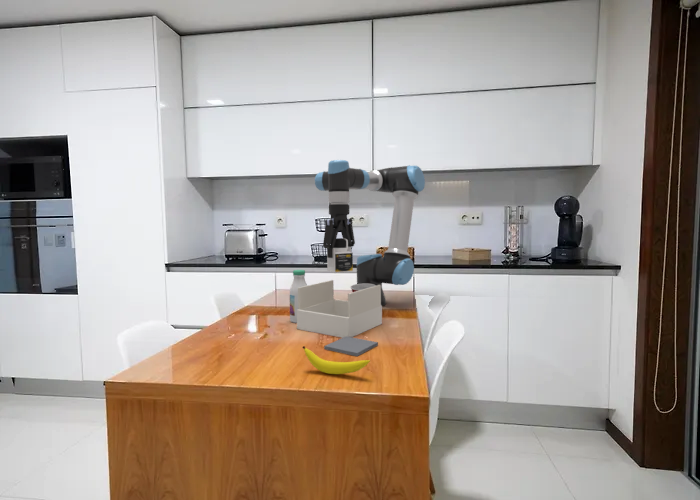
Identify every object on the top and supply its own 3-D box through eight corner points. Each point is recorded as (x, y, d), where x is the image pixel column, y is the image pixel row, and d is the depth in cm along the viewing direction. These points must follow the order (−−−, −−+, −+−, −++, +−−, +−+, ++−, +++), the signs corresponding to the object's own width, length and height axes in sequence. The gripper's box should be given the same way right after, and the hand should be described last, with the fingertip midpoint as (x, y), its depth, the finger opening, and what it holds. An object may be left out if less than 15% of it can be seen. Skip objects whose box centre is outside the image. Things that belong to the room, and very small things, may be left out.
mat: (346, 339, 133) (346, 336, 133) (377, 345, 126) (377, 342, 126) (324, 349, 123) (324, 346, 123) (357, 356, 117) (357, 353, 116)
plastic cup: (346, 315, 165) (346, 286, 164) (356, 310, 175) (355, 282, 174) (371, 318, 161) (371, 288, 160) (379, 312, 171) (379, 284, 170)
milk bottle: (311, 318, 161) (310, 269, 159) (307, 323, 153) (306, 271, 152) (292, 318, 162) (291, 269, 160) (287, 323, 154) (286, 271, 153)
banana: (368, 382, 98) (368, 356, 98) (300, 371, 106) (299, 347, 105) (372, 377, 101) (372, 353, 101) (305, 367, 108) (305, 344, 108)
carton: (333, 316, 165) (333, 279, 164) (381, 323, 152) (381, 284, 151) (297, 328, 146) (296, 288, 145) (348, 338, 134) (347, 294, 132)
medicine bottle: (335, 272, 143) (334, 239, 142) (327, 270, 149) (326, 238, 148) (353, 271, 146) (352, 238, 145) (344, 269, 152) (343, 237, 151)
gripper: (347, 204, 157) (348, 261, 159) (311, 203, 139) (312, 268, 140) (363, 204, 153) (364, 262, 155) (328, 203, 134) (330, 269, 136)
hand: (339, 265), depth 148 cm, fingers closed on medicine bottle, 9 cm apart
